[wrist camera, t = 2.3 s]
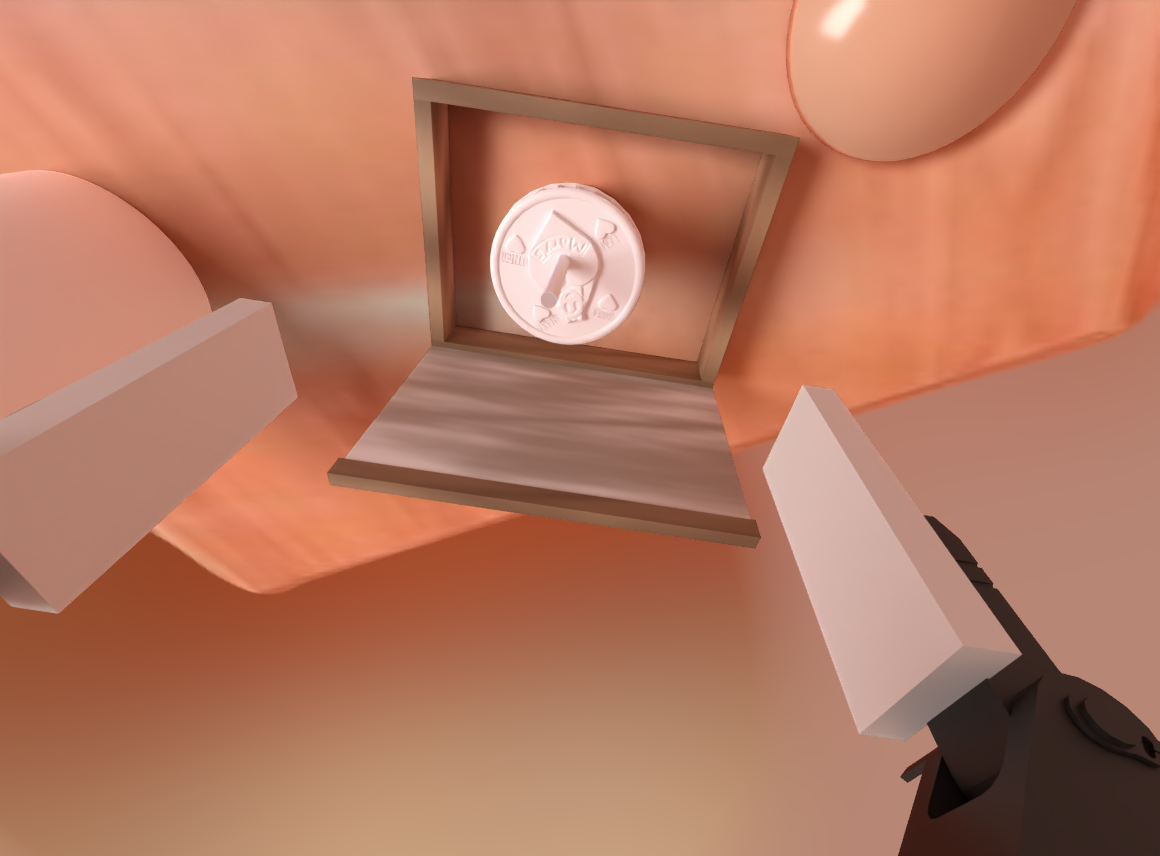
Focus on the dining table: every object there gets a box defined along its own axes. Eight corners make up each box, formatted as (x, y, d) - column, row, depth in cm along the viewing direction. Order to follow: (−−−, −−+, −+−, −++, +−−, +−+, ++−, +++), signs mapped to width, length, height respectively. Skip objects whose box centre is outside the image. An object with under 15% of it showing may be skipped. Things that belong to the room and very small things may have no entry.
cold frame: (426, 78, 23) (214, 61, 11) (788, 134, 23) (957, 177, 11) (442, 356, 32) (336, 508, 20) (701, 395, 32) (743, 569, 21)
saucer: (855, -207, 17) (869, -226, 16) (1147, -160, 17) (1179, -175, 16) (751, 141, 23) (757, 143, 22) (963, 174, 24) (977, 177, 23)
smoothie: (632, 144, 24) (638, 189, 13) (646, 267, 28) (660, 387, 16) (515, 170, 25) (425, 232, 14) (543, 285, 29) (489, 408, 17)
